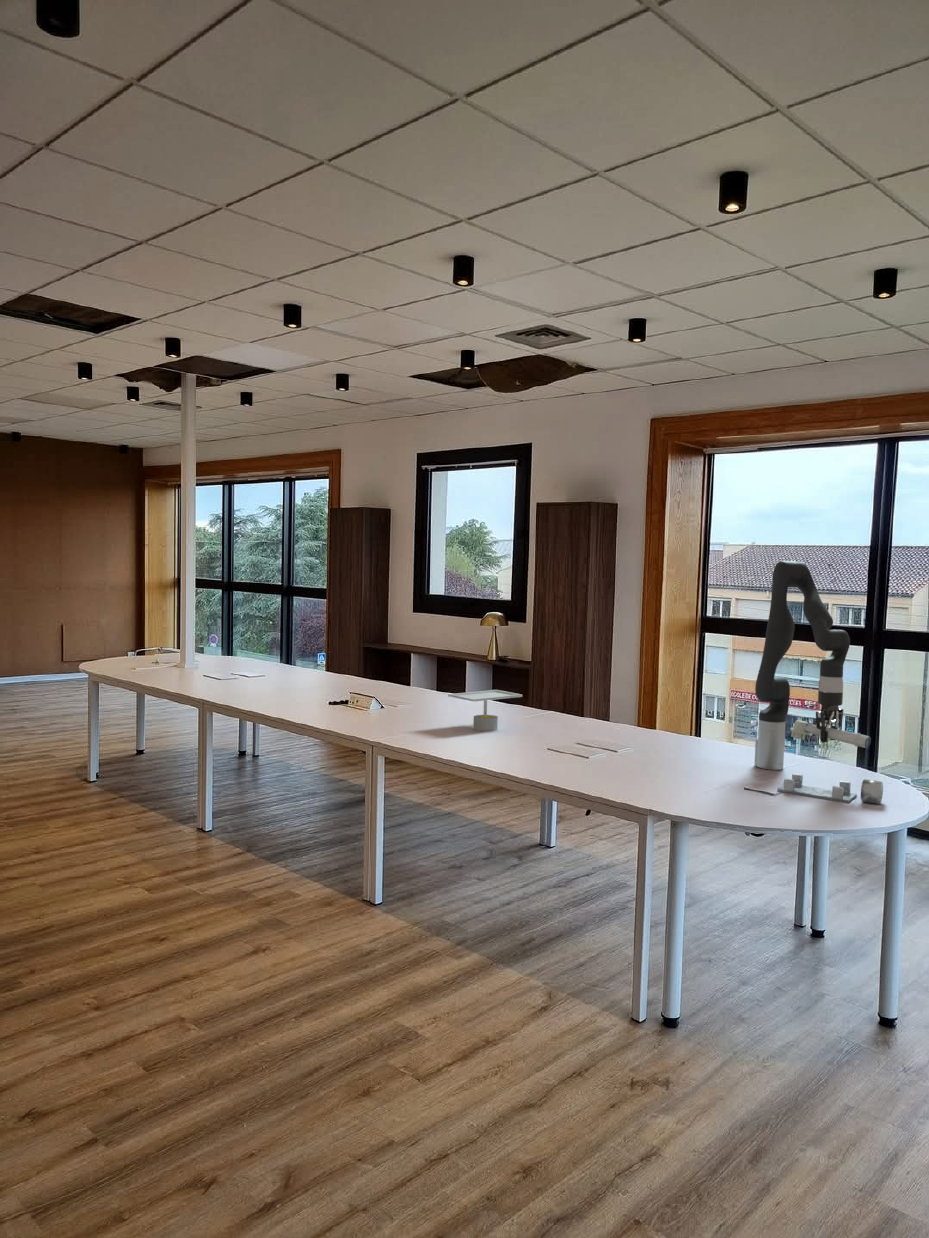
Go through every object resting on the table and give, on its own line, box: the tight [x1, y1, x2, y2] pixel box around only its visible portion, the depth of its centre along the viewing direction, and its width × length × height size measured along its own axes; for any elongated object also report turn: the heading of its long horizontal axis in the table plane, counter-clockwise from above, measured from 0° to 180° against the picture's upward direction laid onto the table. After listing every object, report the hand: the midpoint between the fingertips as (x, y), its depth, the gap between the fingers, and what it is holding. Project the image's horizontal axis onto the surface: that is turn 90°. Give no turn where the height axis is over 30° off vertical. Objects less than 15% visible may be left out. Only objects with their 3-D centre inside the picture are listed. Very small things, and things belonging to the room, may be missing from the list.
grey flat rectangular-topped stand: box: [447, 689, 523, 732], centre depth 395 cm, size 28×17×15 cm, turn 129°
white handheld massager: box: [789, 719, 872, 749], centre depth 303 cm, size 5×7×25 cm
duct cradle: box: [776, 773, 884, 805], centre depth 293 cm, size 30×10×7 cm, turn 54°
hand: (828, 740), depth 303 cm, fingers closed on white handheld massager, 5 cm apart
